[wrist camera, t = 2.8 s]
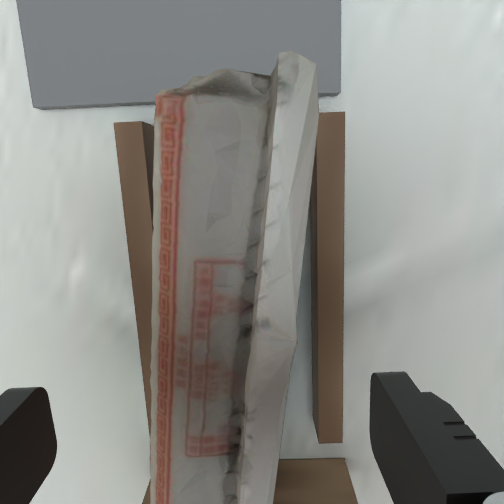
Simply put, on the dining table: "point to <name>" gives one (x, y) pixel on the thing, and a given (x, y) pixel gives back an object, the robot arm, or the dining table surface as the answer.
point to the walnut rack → (322, 296)
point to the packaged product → (227, 277)
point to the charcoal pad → (167, 45)
